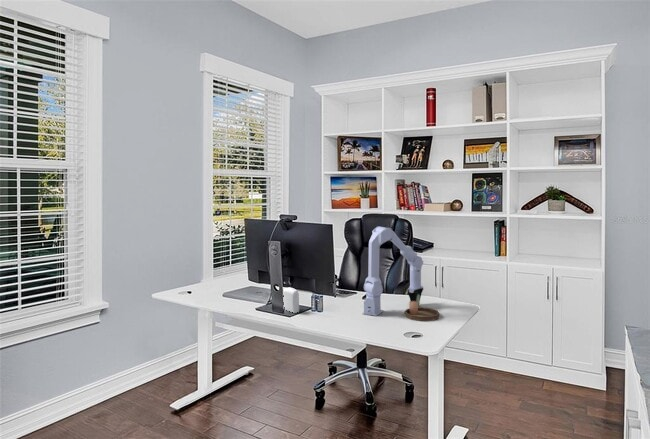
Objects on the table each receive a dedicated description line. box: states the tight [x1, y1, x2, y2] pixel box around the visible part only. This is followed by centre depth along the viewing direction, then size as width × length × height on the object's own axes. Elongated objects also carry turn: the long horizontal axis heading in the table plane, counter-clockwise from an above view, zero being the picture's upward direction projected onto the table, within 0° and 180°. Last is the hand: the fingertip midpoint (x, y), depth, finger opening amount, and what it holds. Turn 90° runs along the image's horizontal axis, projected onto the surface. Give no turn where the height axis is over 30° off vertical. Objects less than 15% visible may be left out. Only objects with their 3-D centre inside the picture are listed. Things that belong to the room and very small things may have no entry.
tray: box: [404, 306, 440, 322], centre depth 227 cm, size 16×16×2 cm
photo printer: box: [282, 286, 300, 314], centre depth 240 cm, size 10×4×12 cm, turn 39°
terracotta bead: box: [408, 301, 418, 315], centre depth 229 cm, size 4×4×6 cm
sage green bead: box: [416, 295, 421, 307], centre depth 245 cm, size 4×4×6 cm
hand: (415, 303), depth 245 cm, fingers open, 7 cm apart
